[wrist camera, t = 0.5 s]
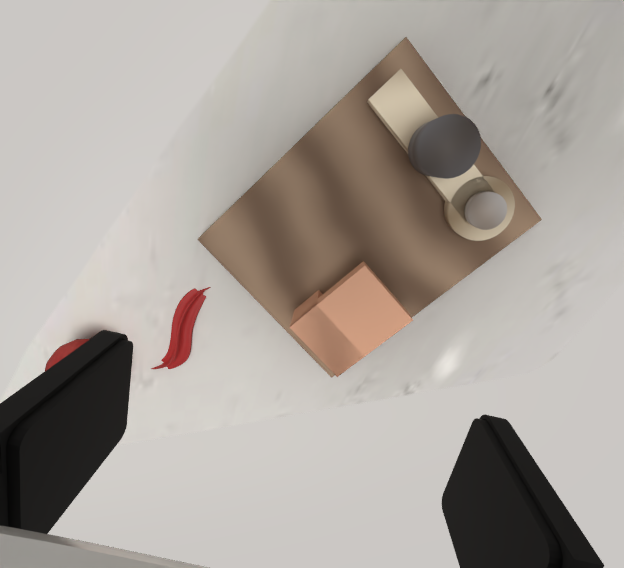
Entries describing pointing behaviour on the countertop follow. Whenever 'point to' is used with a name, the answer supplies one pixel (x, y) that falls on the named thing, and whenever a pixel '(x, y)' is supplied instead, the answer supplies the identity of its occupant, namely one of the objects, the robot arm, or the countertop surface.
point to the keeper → (349, 319)
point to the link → (440, 152)
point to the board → (359, 210)
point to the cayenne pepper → (183, 329)
